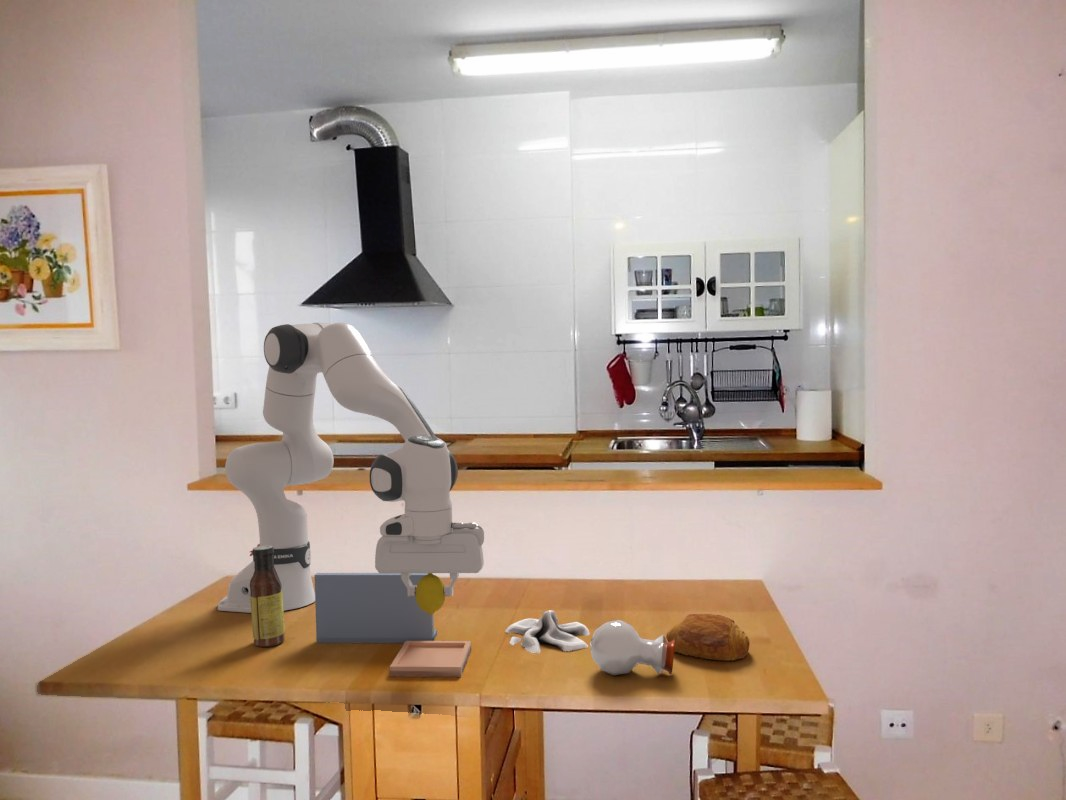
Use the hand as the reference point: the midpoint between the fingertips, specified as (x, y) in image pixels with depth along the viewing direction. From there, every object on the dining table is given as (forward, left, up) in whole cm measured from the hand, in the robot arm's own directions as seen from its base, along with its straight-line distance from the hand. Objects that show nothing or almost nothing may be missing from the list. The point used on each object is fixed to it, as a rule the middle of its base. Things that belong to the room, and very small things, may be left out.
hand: (430, 595), depth 144 cm
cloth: (+21, +13, -14) cm, 28 cm away
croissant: (+53, +7, -13) cm, 55 cm away
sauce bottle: (-36, +10, -13) cm, 40 cm away
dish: (0, 0, -13) cm, 13 cm away
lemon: (0, 0, -4) cm, 4 cm away
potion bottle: (+37, -4, -13) cm, 40 cm away
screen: (-14, +13, -13) cm, 23 cm away
